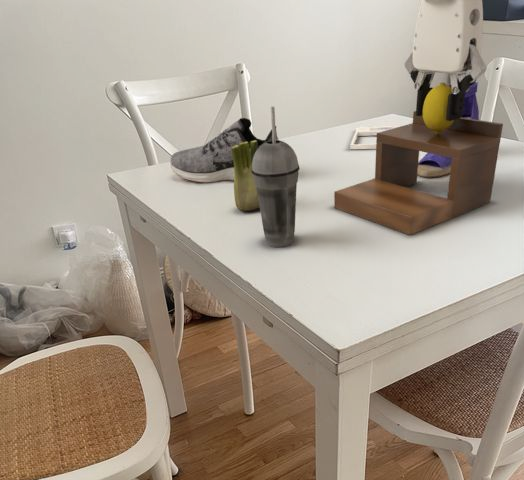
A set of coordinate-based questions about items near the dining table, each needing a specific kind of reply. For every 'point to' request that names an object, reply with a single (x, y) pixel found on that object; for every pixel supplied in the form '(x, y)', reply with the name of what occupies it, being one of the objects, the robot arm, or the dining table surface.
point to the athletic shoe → (215, 155)
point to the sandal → (440, 164)
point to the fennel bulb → (244, 176)
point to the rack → (406, 167)
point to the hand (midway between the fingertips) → (438, 115)
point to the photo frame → (368, 132)
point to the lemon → (437, 108)
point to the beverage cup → (276, 188)
